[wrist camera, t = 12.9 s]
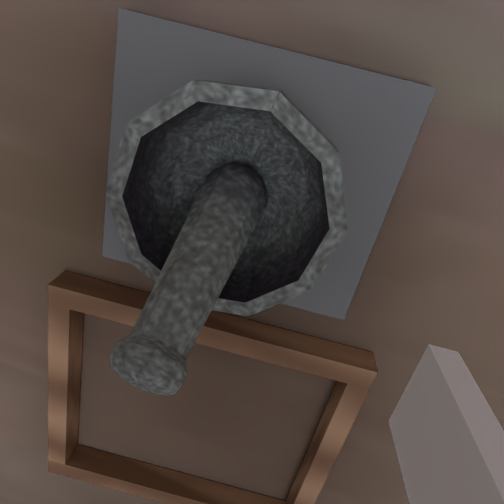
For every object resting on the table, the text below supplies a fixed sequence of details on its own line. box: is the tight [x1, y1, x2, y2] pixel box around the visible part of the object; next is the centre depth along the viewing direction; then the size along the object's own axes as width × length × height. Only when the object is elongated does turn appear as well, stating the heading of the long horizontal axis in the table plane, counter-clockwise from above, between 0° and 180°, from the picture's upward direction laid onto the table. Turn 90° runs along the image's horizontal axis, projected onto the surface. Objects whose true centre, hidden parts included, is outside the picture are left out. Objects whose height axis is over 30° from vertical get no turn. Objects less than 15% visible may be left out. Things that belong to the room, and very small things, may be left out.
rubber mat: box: [102, 8, 437, 320], centre depth 23 cm, size 14×16×1 cm
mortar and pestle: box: [105, 79, 348, 395], centre depth 17 cm, size 11×9×12 cm
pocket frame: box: [48, 271, 378, 504], centre depth 30 cm, size 19×22×2 cm
